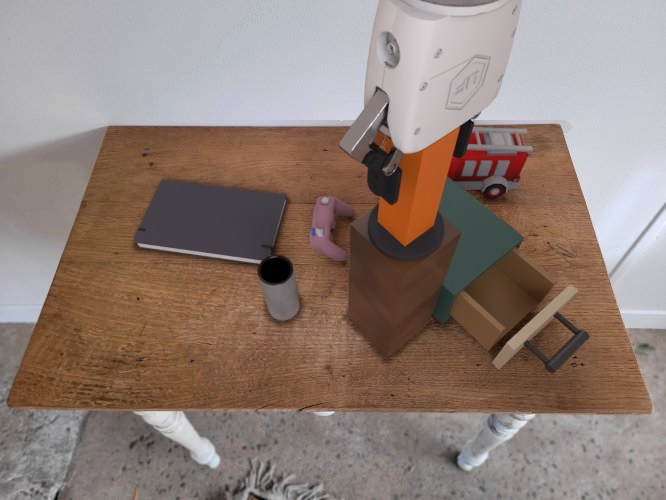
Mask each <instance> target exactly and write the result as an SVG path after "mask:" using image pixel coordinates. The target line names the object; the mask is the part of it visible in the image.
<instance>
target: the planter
mask: <svg viewBox="0 0 666 500" xmlns="http://www.w3.org/2000/svg"><path fill="white" fill-rule="evenodd" d="M256 273H257V277H258V281H259V284H260V288H261V290H262V294H263V297H264V301H265V304H266V307H267V310H268V313H269V314H270V316H271V317H272V318H274V319H275V320H278V321H287V320H291V319H292V318H294V317H295V316H296V315H297V314H298V313H299V311H300V305H301V304H300V303H301V302H300V297H299V291H298V285H297V279H296V274H295V268H294V264H293V262H292V261H291V259H290V258H289V257H288V256H286V255H283V254H272V255H270V256H268V257H266V258H264V259H263V260H262V261H261V262H260V264H259V265H257V272H256Z"/></svg>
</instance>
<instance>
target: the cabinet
mask: <svg viewBox="0 0 666 500" xmlns="http://www.w3.org/2000/svg"><path fill="white" fill-rule="evenodd" d="M438 211H439V213H440V214H441V215H442V216H444V217H445V218H446V219H447V220H448V221H450V222H451V223H452V224H453V225H454V226H456V227H457V228H458V229H459V230H460V231H461V232H462V233H461V236H460V239H459V242H458V244H457V247H456V250H455V253H454V256H453V258H452V261H451V264H450V267H449V269H448V272H447V275H446V278H445V281H444V283H443V286H442V289H441V292H440V294H439V297H438V300H437V303H436V305H435V308H434V311H433V314H432V316H433V317H434V318H435V319H436V320H437V321H438V322H439V323H440V324H441V325H443V324H445V323H446V322H447V321H448V320H449V319H451V318H453V317H452V316H451V315H450V314H449V313H450V311H451V309H452V306H453V304H454V302H455V299H456V297H457V295H458V294H459V293H460V292H462V291H463V290H464V289H465V288H466V287H468V286H469V285H470V284H471V283H473V282H474V281H475V280H476V279H477V278H479V277H480V276H481V275H482V274H483V273H485V272H486V271H487V270H488V269H489V268H491V267H492V266H493V265H494V264H495V263H497V262H498V261H499V260H500V259H502V258H503V257H504V256H505V255H506V254H508V253H509V252H510V251H511V250H512V249H514V248H515V247H516V248H517V249H519V250H520V247H521V245H522V243H523V242H524V240H525V236H524V235H522V234H521V232H519V231H518V230H516V229H515V228H513V226H511V225H510V224H509V223H507V222H506V221H505V220H503V219H502V218H500V217H499V216H498V214H496V213H495V212H493V211H492V210H491V209H489V208H488V207H487V206H486V205H484V204H483V203H482V202H480V200H478V199H477V198H475V197H474V196H473V195H472V194H471V193H469V192H468V191H467V190H464V189H463V188H461V187H460V186H459V185H458V184H456V183H455V182H454V181H453V180H451V179H450V178H449V177H447V178H446V181H445V185H444V189H443V193H442V196H441V200H440V204H439V207H438Z"/></svg>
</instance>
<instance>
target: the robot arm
mask: <svg viewBox="0 0 666 500" xmlns="http://www.w3.org/2000/svg"><path fill="white" fill-rule="evenodd" d="M522 4H523V0H378V4H377V7H376V12H375V17H374V21H373V26H372V30H371V37H370V42H369V48H368V54H367V61H366V70H365V79H364V93H363V110H362V111H361V112H360V113H359V114H358V116H357V117H356V119H355V120H354V122H353V123H352V124H351V126H350V127H349V129H348V130H346V132H345V134H344V135H343V136H342V138H341V139H340V141H339V144H338V148H339V149H341V150H342V151H343V152H344V153H345V154H346V155H347V156H349V158H351V159H352V160H354V161H356V162H358V163H360V164H362V165H364V166H365V167H366V168H367V177H366V184H367V187H368V189H369V190H370V192H371V193H372V194H373V195H375V196H376V197H378V198H380V196H381V197H382V198H383V199H384V200H385V201H386V202H387V203H389V204H390V205H393V204H395V203H396V202H397V201H398V198H399V191H400V185H401V178H402V169H401V168H400V167H399V166H398V165H399V163H400V161H401V159H402V157H403V156H404V154H410V153H415V152H418V151H420V150H422V149H424V148H426V147H428V146H429V145H431V144H433V143H434V142H436V141H437V140H439V139H440V138H442V137H444V136H445V135H447V134H448V133H450V132H451V131H453V130H454V129H456V128H457V127H460V129H459V133H458V137H457V141H456V144H455V148H454V152H453V156H454V157H455V158H461V157H463V156H464V155H465V153H466V150H467V147H468V143H469V140H470V137H471V133H472V130H473V127H475V122H474V120H476V119H478V118H479V117H480V115H481V114H482V112H483V111H484V110H485V109H487V108H488V107H489V106H490V105H491V104H492V103H493V102H494V101H495V99H496V98H497V97H498V95H499V92H500V90H501V86H502V84H503V81H504V77H505V74H506V71H507V67H508V63H509V60H510V59H509V58H510V56H511V53H512V49H513V45H514V40H515V36H516V33H517V28H518V24H519V19H520V14H521V8H522ZM386 136H387V137H388V138H390V139H391V140H392V142H393V146H392V148H391V150H390V152H389V154H388V153H386V152H385V149H383V148H382V147H381V145H382V143H383V140H384V139H385V138H386Z"/></svg>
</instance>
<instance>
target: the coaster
mask: <svg viewBox="0 0 666 500" xmlns="http://www.w3.org/2000/svg"><path fill="white" fill-rule="evenodd" d="M373 208H374V209H373ZM373 208H372V209H373V210H372V212H371V214H370V216H369V221H368V231H369V235H370V238H371V240H372V241H373V243H374V244H375V245H376V246H377V247H378V248H379V249H380V250H381V251H383V252H384V253H386V254H388V255H390V256H392V257H395V258H399V259H417V258H421V257H424V256H426V255H428V254H430V253H432V252H433V251H434V250H435V249H436V248H437V247H438V246H439V244H440V243H441V241H442V238H443V235H444V221H443V218H442V216H441V214H440V213H439V211H437V215H436V219H435V222H434V225H433V226H432V227H431V228H429V229H428V230H427V231H425V232H424V233H423V234H421V235H420V236H419V237H417V238H416V239H415V240H413V241H412V242H411V243H409V244H408V245H406V246H404V245H403V244H401V243H400V242H399V241H398V240H397V239H396V238H395V237H394V236H393V235H392V234H391V233H389V232H388V231H387V230H386V229H385V228H384V227H383V226H382V225H381V224H380V223H379V222H378V211H379V203H377V204H376V205H375V206H374V207H373Z"/></svg>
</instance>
